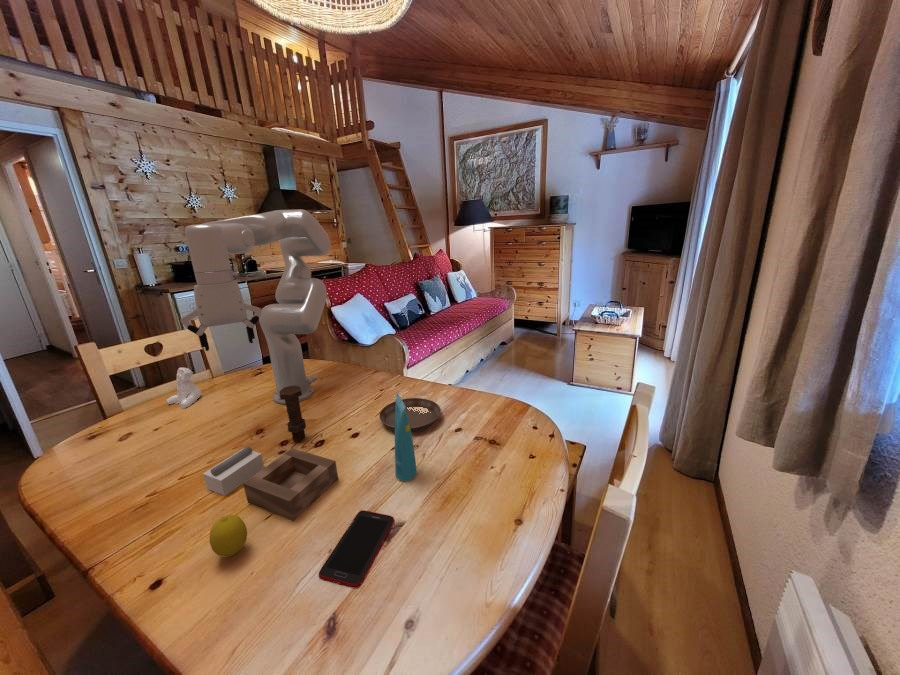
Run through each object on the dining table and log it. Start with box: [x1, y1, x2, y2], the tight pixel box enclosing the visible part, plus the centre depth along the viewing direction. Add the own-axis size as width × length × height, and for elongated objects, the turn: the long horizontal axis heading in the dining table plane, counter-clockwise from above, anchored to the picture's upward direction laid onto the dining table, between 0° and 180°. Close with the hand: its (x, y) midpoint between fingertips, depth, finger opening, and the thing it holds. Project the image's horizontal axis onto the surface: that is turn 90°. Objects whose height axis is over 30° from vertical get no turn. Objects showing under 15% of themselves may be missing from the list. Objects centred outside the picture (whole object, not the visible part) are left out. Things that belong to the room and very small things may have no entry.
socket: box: [242, 447, 339, 522], centre depth 79 cm, size 13×13×5 cm
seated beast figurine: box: [166, 366, 202, 409], centre depth 120 cm, size 10×9×12 cm
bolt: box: [280, 385, 307, 444], centre depth 96 cm, size 6×5×15 cm
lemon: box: [209, 514, 248, 558], centre depth 64 cm, size 6×6×8 cm
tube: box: [394, 392, 418, 482], centre depth 81 cm, size 7×5×19 cm, turn 26°
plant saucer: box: [378, 397, 442, 434], centre depth 106 cm, size 18×18×3 cm
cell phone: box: [318, 509, 395, 589], centre depth 66 cm, size 8×15×1 cm, turn 164°
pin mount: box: [202, 445, 265, 497], centre depth 83 cm, size 10×6×6 cm, turn 156°
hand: (229, 345), depth 92 cm, fingers open, 9 cm apart
